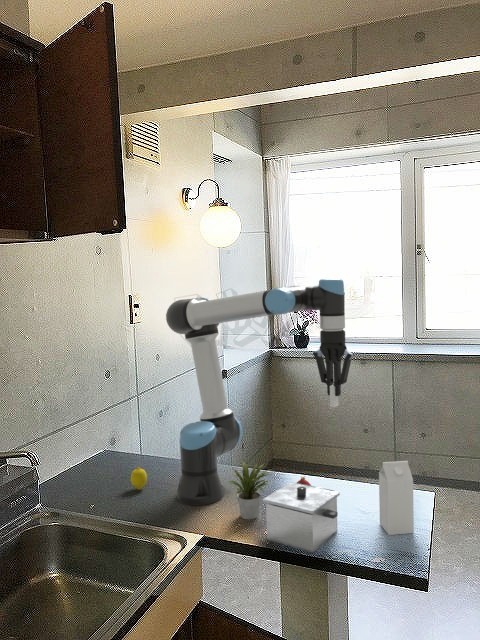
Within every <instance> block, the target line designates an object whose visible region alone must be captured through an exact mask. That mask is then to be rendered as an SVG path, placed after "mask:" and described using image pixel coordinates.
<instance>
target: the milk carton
mask: <svg viewBox="0 0 480 640" xmlns="http://www.w3.org/2000/svg"><path fill="white" fill-rule="evenodd" d="M378 487H379V488H378V491H379V492H378V494H379V495H378V496H379V498H378V499H379V501H378V502H379V504H378V505H379V524H380V526H381V527H382V528H383V530H384V531H385V532H386V533H387V535H388V536H392V535H395V536H396V535H405V534H406V535H407V534H414V532H415V531H414V530H415V523H414V522H415V520H414V519H415V517H414V516H415V515H414V513H415V512H414V478H413V476H412V472H411V469H410V466H409V461H408V460H399V461H385V462H384V461H383V462H382V467H381V468H380V470H379V472H378Z"/></svg>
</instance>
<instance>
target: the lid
mask: <svg viewBox="0 0 480 640" xmlns="http://www.w3.org/2000/svg"><path fill="white" fill-rule="evenodd" d="M339 496H340V491H336V490H334V489H329V488H328V489H327V488H323V487H319V486H314V485H311V486H310V485H306V484H301V483H297V482H293V481H291V482H290V483H288V484H286V485H284V486H282V487H281V488H279V489H277V490H276V491H274V492H272V493H271V494H268V496H265V497H263V498H262V502H263V503H269V504H273V505H277V506H281V507H286V508H290V509H294V510H298V511H302V512H306V513H310V514H314V513H316V512H317V511H319V510H320V509H321V508H323V507H324V506H325V505H327V504H328V503H329V502H331V501H332V500H334V499H335V498H336V497H337V498H338V497H339Z"/></svg>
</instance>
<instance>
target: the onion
mask: <svg viewBox="0 0 480 640" xmlns="http://www.w3.org/2000/svg"><path fill="white" fill-rule="evenodd" d="M296 483H301V484H306V485H310V486H312V484H311V483H310V482H309V481H308V480H307V479H306V477H305V476H302V477H300V480H298V481H296Z"/></svg>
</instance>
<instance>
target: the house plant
mask: <svg viewBox="0 0 480 640" xmlns="http://www.w3.org/2000/svg"><path fill="white" fill-rule="evenodd" d="M258 465H259V461H257V462H256V464H254V467H253V468H252V470H251V472H250V473H249V468H248V464H247V461H243V462H242V470H240V469H239V471H240V472H241V473H242V476H241V474H240V473H239V472H238V470H237V469H236V468H234V467H232V470H233V471H234V473H233V474H231V475H232V476H233V477H237V478H236V480H237V481H238V482H239V483H238V482H237V481H235V480H229V481H228V483H229V484H232V485H236V486H237V487H238V488H236V495H237V498H236V499H237V501H238V507H239V511H240V515H241V518H242V519H243V520H244V519H245V520H253V519H254V520H255V519H257V518H258V517H259V513H260V505H261V499H262V498H261V497H262V495H261V493H260V492H258V490H260V491H262V492H263V493H265V492H264V488H263V487H264V486H267V485H268V486H270V484H269V483H268V480H265V479H262V480H261V478H263V477H266V476H270V475H273V473H268V471H271V469H267V470H264V471H262V472H261V469H262V467H263V466H264V465H265V463H262V464H261V465H259V466H258ZM257 466H258V468H257ZM273 470H274V471H275V469H272V471H273ZM234 474H236V475H234Z"/></svg>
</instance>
